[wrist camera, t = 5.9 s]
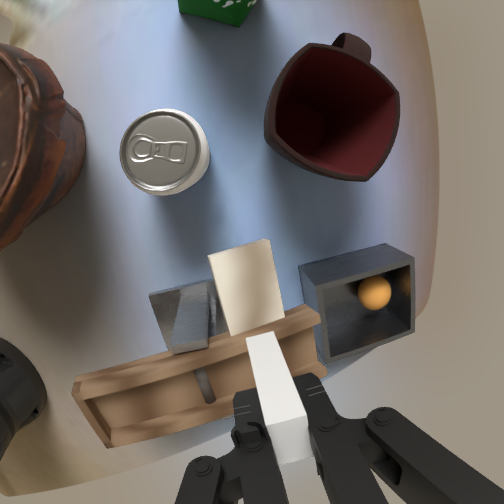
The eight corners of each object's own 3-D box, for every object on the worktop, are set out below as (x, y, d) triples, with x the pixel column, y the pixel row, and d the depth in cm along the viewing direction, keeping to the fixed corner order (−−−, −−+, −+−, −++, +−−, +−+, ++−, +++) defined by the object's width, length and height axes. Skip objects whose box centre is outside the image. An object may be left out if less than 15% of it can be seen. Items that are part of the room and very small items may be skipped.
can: (153, 123, 30) (122, 100, 19) (214, 131, 31) (214, 109, 20) (144, 184, 32) (108, 192, 20) (204, 192, 33) (199, 204, 21)
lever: (107, 429, 25) (107, 448, 23) (42, 305, 22) (32, 318, 19) (313, 361, 31) (327, 375, 28) (291, 230, 27) (307, 235, 25)
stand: (178, 371, 38) (170, 434, 27) (149, 293, 35) (126, 343, 24) (256, 355, 38) (271, 416, 27) (235, 272, 35) (245, 318, 24)
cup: (237, 152, 32) (250, 142, 20) (285, 42, 29) (318, -8, 18) (322, 188, 34) (373, 199, 22) (364, 81, 31) (422, 53, 20)
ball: (380, 319, 33) (397, 303, 35) (379, 286, 32) (396, 272, 34) (352, 312, 36) (370, 297, 38) (349, 281, 35) (368, 268, 37)
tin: (309, 334, 38) (325, 363, 32) (298, 265, 36) (315, 285, 30) (389, 310, 39) (414, 332, 33) (385, 243, 36) (414, 257, 30)
